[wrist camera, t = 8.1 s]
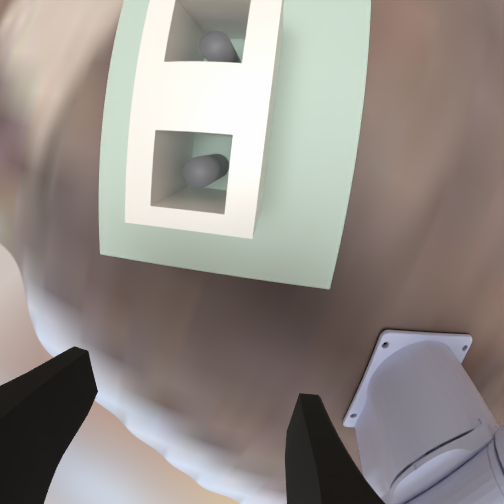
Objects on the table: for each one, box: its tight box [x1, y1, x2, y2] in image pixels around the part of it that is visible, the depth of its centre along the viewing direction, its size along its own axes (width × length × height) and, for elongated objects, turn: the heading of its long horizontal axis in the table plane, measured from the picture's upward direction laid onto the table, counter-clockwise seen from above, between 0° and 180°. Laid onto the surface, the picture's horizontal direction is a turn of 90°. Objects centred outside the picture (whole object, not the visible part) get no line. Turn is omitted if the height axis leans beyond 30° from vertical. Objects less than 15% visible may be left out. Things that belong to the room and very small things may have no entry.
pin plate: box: [99, 0, 371, 289], centre depth 13 cm, size 16×13×5 cm
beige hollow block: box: [125, 0, 284, 239], centre depth 11 cm, size 9×5×5 cm, turn 174°
